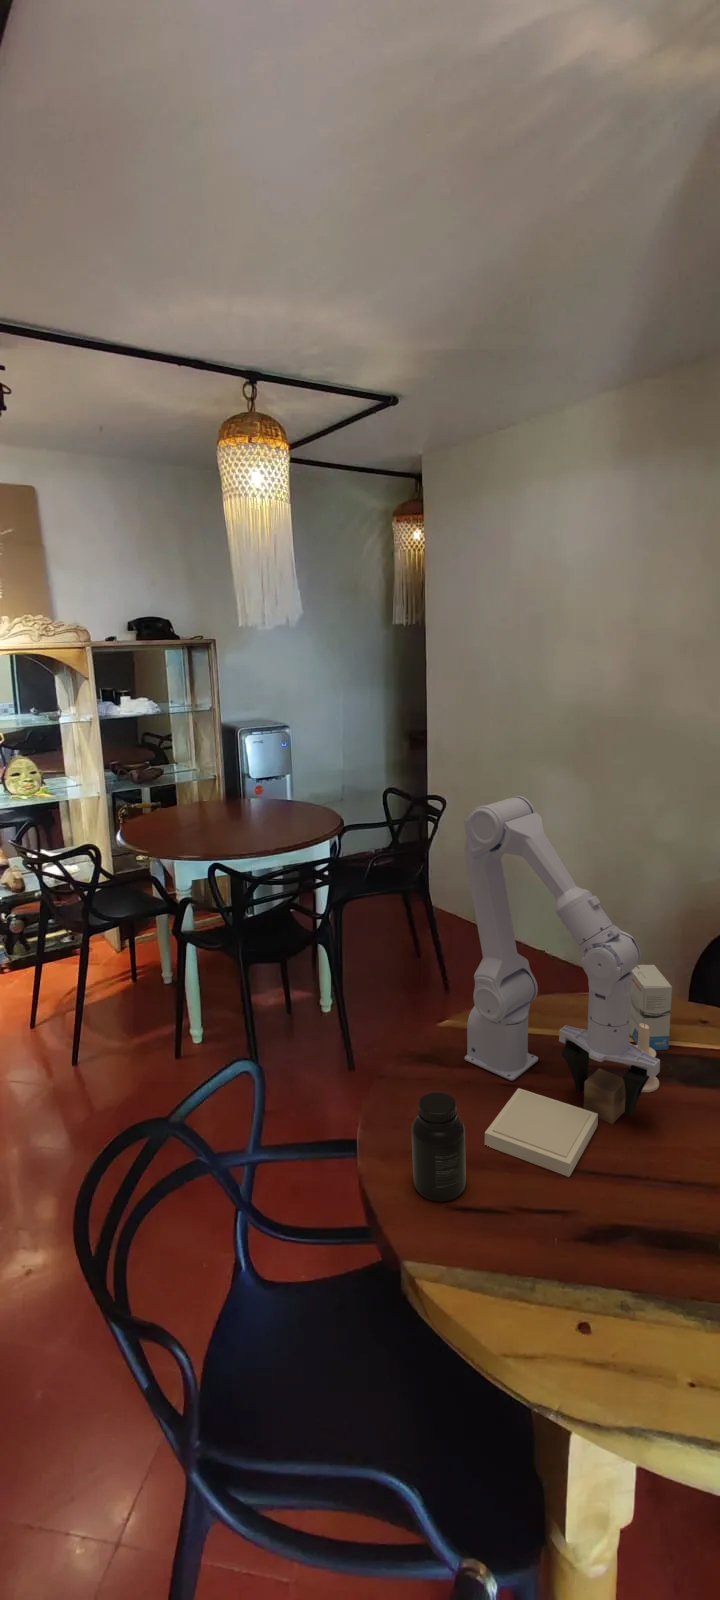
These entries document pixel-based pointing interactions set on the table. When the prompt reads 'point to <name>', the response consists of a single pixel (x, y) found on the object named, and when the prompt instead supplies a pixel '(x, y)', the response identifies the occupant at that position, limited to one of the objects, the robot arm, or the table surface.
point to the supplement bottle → (438, 1148)
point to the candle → (643, 1044)
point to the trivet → (542, 1131)
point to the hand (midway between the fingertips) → (605, 1100)
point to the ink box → (651, 1005)
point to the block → (605, 1095)
